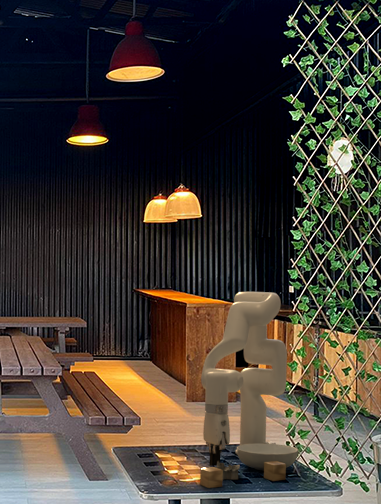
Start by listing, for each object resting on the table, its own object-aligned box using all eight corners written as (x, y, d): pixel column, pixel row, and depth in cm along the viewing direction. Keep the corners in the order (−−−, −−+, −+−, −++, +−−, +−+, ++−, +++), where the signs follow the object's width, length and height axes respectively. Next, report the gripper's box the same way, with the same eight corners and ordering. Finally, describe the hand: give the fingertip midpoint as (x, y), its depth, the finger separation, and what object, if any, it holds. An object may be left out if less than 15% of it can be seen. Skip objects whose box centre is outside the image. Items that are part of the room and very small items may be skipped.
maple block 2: (276, 476, 276) (276, 460, 276) (285, 479, 271) (285, 463, 272) (263, 477, 273) (264, 462, 273) (272, 481, 269) (273, 465, 269)
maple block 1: (213, 483, 264) (214, 466, 264) (222, 486, 259) (222, 470, 259) (200, 484, 261) (200, 468, 261) (208, 488, 257) (208, 471, 257)
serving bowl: (307, 467, 292) (307, 447, 292) (282, 477, 274) (282, 456, 274) (253, 460, 302) (253, 440, 302) (225, 469, 284) (225, 448, 284)
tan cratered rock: (216, 472, 279) (217, 460, 279) (239, 473, 279) (240, 461, 279) (214, 479, 269) (215, 466, 269) (238, 480, 268) (238, 467, 268)
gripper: (238, 411, 277) (236, 468, 276) (214, 405, 290) (212, 460, 289) (218, 412, 273) (216, 470, 272) (195, 406, 286) (193, 461, 285)
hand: (214, 465), depth 280 cm, fingers closed
